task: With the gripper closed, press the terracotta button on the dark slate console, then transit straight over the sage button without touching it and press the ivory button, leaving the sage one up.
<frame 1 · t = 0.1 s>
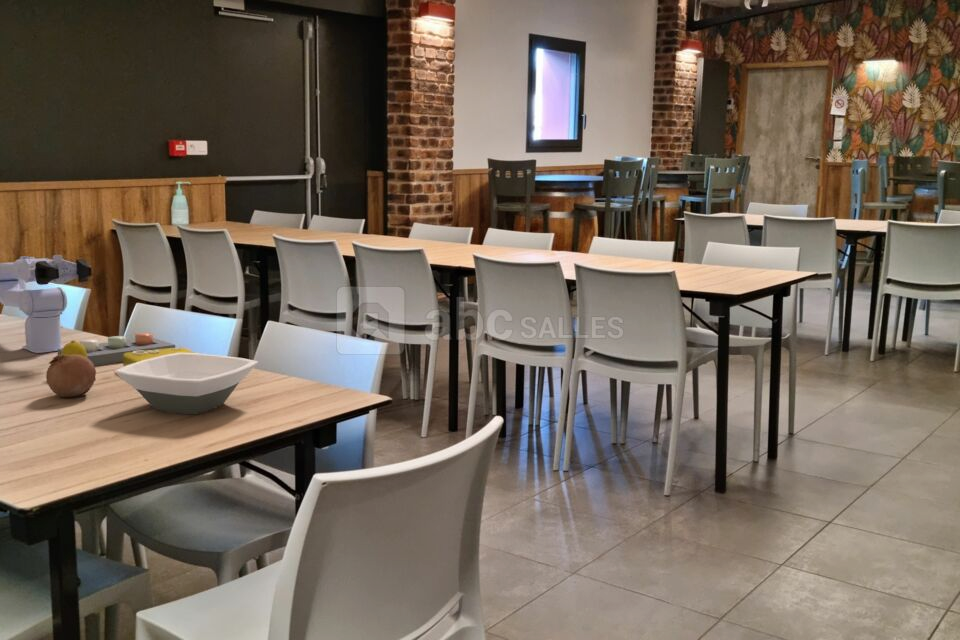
hand: (73, 272, 226), 22 cm above the table, tool horizontal, fingers open, 7 cm apart
bowl: (189, 407, 192), on the table
button ivory: (89, 346, 231), point 3 cm above the table, slide at 0.0 cm
button sage: (117, 342, 236), point 3 cm above the table, slide at 0.0 cm
console: (117, 356, 236), on the table
onion: (72, 396, 198), on the table
lemon: (75, 375, 216), on the table
element tile: (164, 374, 222), on the table
button terracotta: (144, 339, 241), point 3 cm above the table, slide at 0.0 cm
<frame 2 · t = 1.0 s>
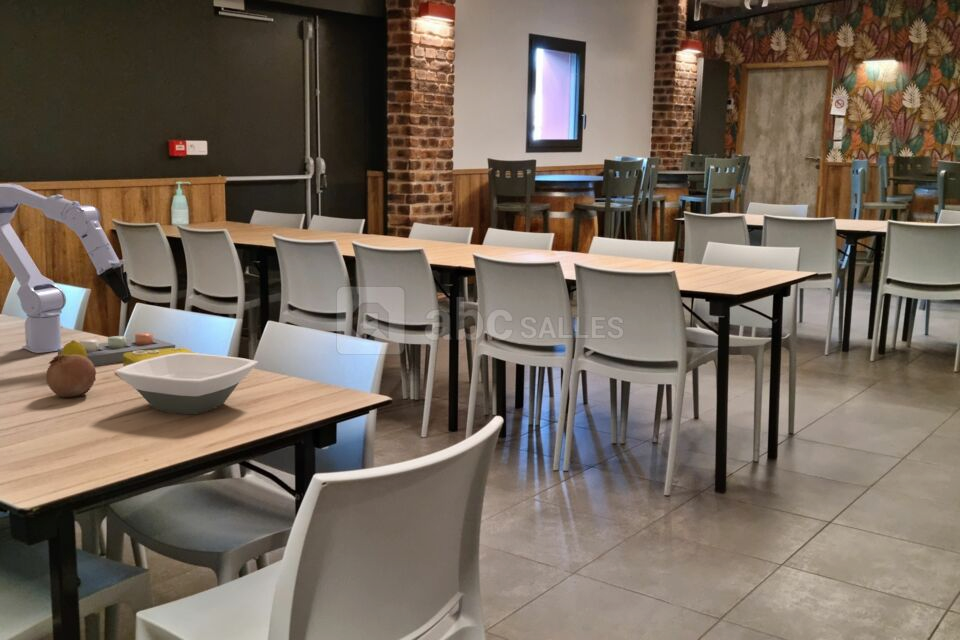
hand: (126, 299, 233), 14 cm above the table, tool tilted 30°, fingers open, 7 cm apart
nothing on the table moved.
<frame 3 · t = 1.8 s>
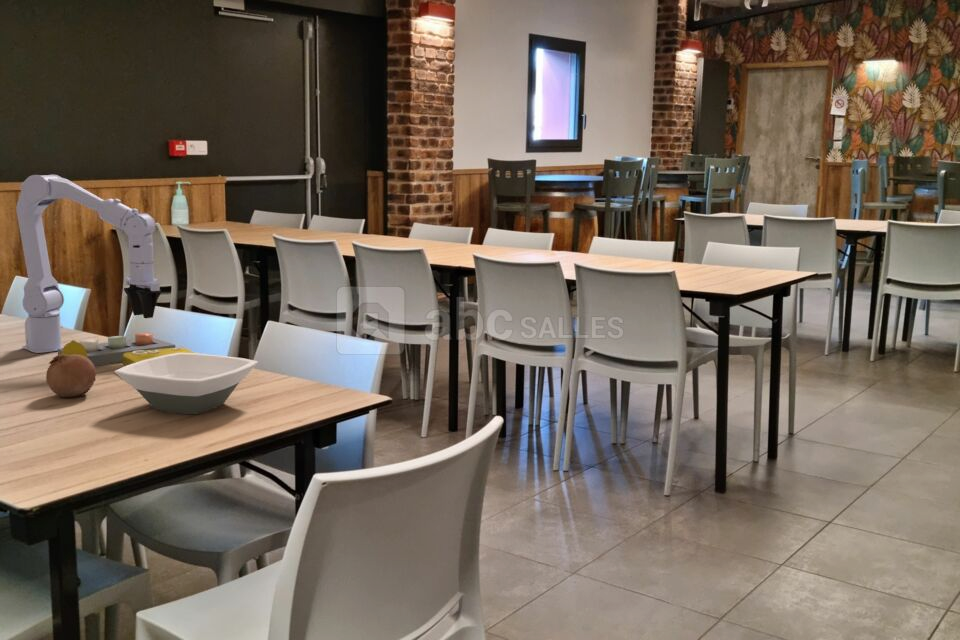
hand: (143, 316, 240), 9 cm above the table, tool pointing down, fingers open, 5 cm apart
nothing on the table moved.
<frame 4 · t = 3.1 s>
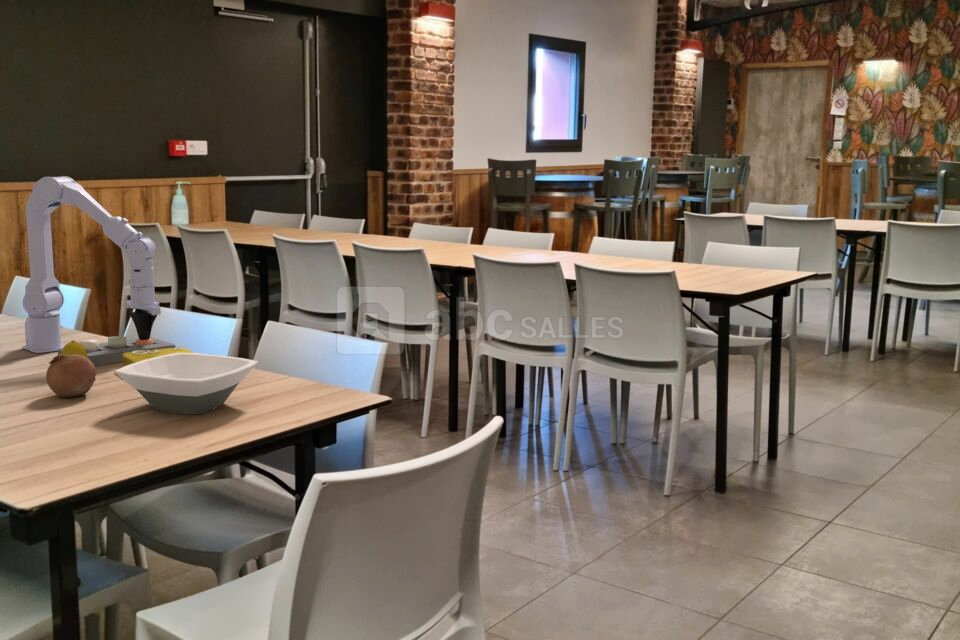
hand: (144, 339, 241), 3 cm above the table, tool pointing down, fingers closed, pressing on button terracotta
button terracotta: (144, 344, 241), point 2 cm above the table, slide at 1.3 cm, touching gripper
everything else where it was.
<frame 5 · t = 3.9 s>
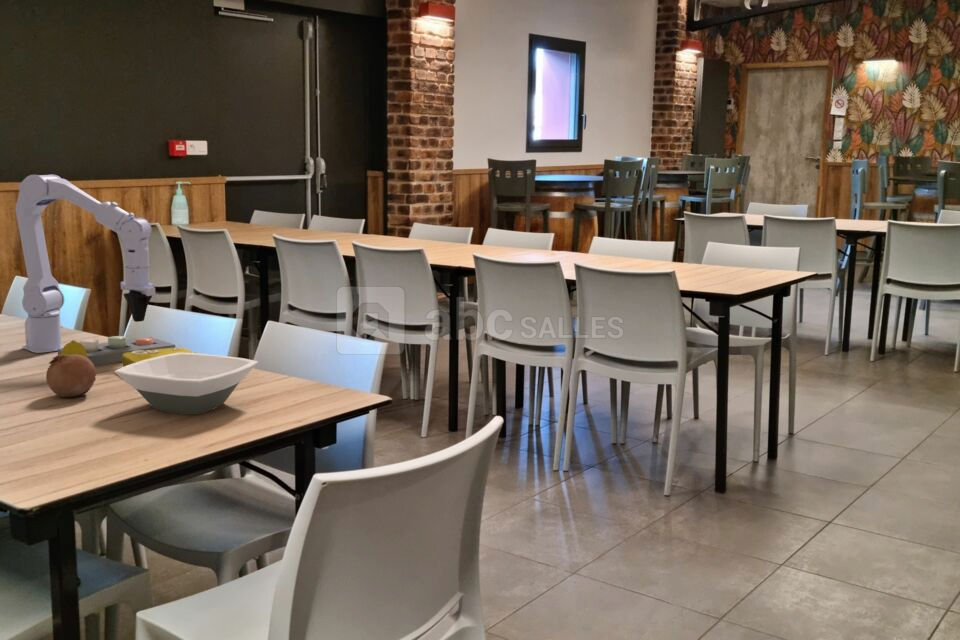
hand: (138, 321, 239), 8 cm above the table, tool pointing down, fingers closed
button terracotta: (144, 344, 241), point 2 cm above the table, slide at 1.3 cm
everything else where it was.
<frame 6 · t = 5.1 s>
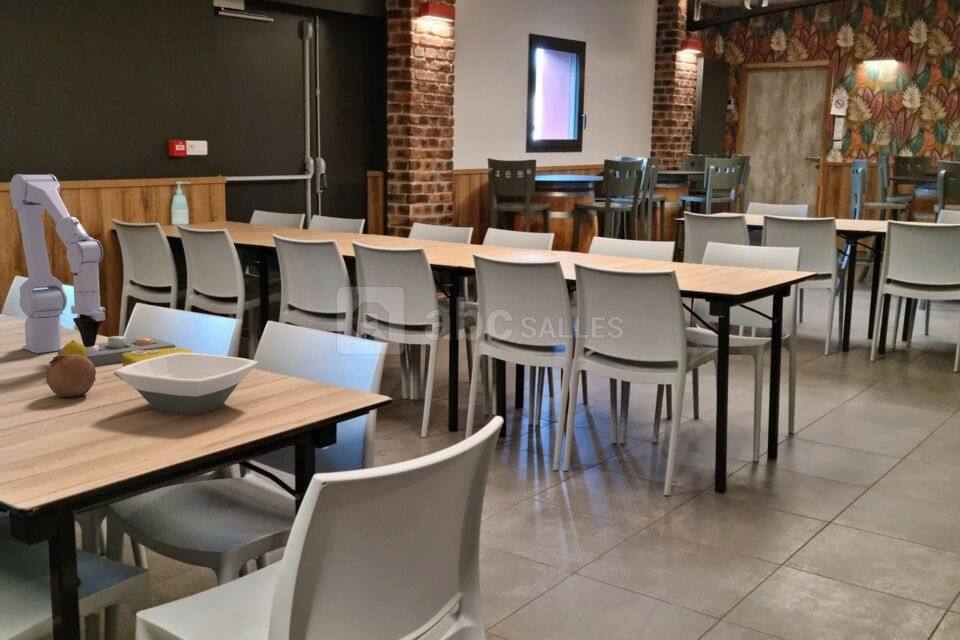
hand: (89, 346, 231), 3 cm above the table, tool pointing down, fingers closed, pressing on button ivory
button ivory: (89, 351, 231), point 2 cm above the table, slide at 1.3 cm, touching gripper
everything else where it was.
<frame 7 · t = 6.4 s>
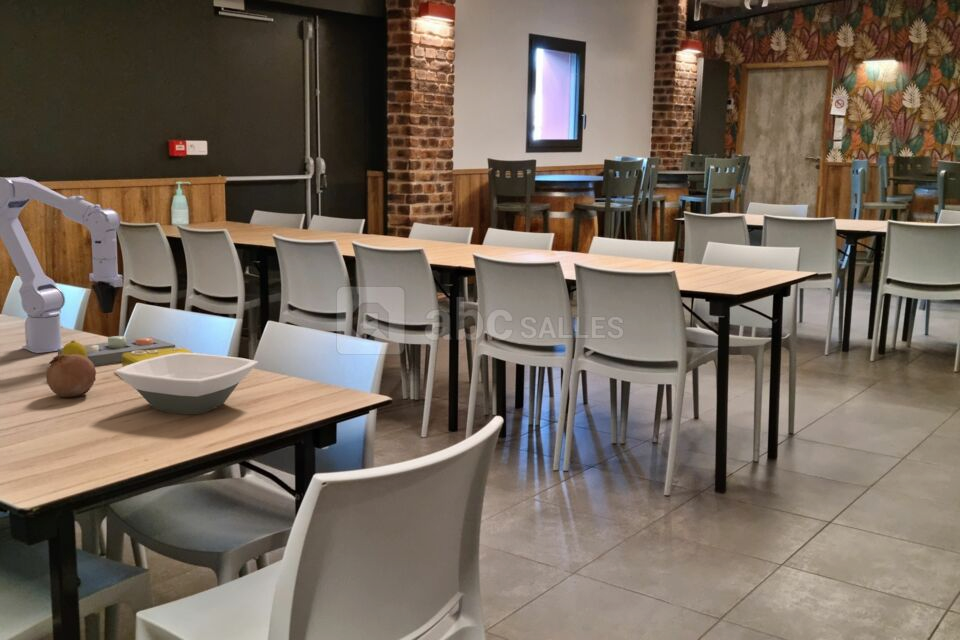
hand: (107, 312, 238), 10 cm above the table, tool pointing down, fingers closed
button ivory: (89, 351, 231), point 2 cm above the table, slide at 1.3 cm
everything else where it was.
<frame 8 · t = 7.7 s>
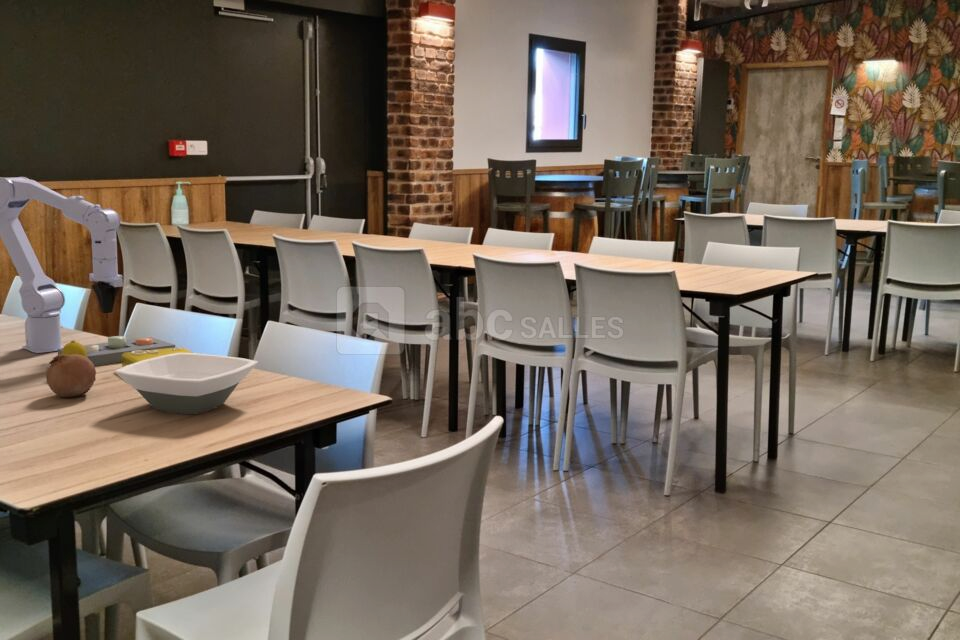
hand: (107, 312, 238), 10 cm above the table, tool pointing down, fingers closed
nothing on the table moved.
at the end: button terracotta slide at 1.3 cm; button ivory slide at 1.3 cm; button sage slide at 0.0 cm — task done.
